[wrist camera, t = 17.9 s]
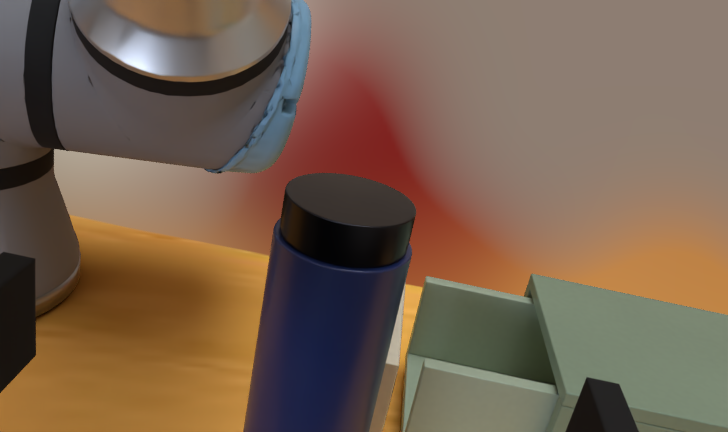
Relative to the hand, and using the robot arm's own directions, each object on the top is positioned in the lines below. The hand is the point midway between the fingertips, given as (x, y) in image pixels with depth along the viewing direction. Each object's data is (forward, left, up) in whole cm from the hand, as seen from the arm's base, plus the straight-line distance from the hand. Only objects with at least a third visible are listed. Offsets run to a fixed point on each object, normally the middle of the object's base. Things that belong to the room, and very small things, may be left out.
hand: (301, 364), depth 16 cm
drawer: (+7, +21, -16) cm, 27 cm away
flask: (0, +10, -17) cm, 20 cm away
